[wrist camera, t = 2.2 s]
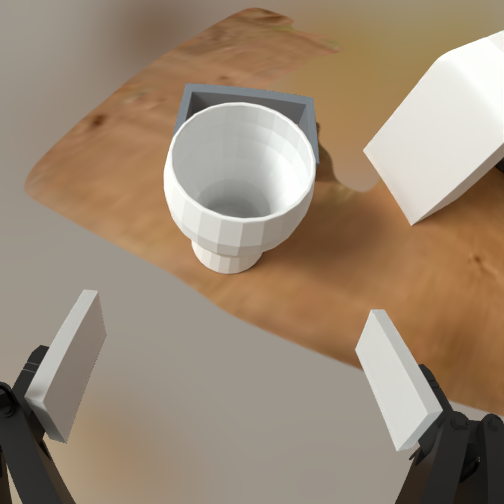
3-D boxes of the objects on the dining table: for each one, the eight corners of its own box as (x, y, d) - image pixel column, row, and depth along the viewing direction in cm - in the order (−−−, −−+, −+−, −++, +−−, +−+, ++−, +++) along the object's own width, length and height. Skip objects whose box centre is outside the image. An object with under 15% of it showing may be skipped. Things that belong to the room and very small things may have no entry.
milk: (362, 150, 40) (463, -1, 16) (413, 135, 43) (505, 17, 19) (411, 225, 38) (559, 103, 13) (456, 199, 41) (575, 99, 16)
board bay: (305, 117, 41) (313, 97, 37) (309, 181, 37) (319, 163, 34) (186, 104, 39) (185, 83, 35) (173, 168, 36) (170, 148, 32)
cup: (158, 253, 32) (125, 177, 18) (212, 177, 36) (218, 78, 22) (247, 307, 32) (279, 266, 18) (294, 224, 35) (346, 141, 21)
